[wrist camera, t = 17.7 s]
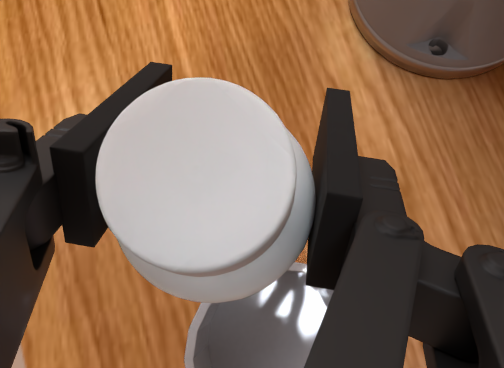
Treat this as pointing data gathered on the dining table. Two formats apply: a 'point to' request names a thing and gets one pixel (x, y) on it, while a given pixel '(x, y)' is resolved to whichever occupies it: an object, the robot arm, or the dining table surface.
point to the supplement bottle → (205, 190)
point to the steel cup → (259, 326)
